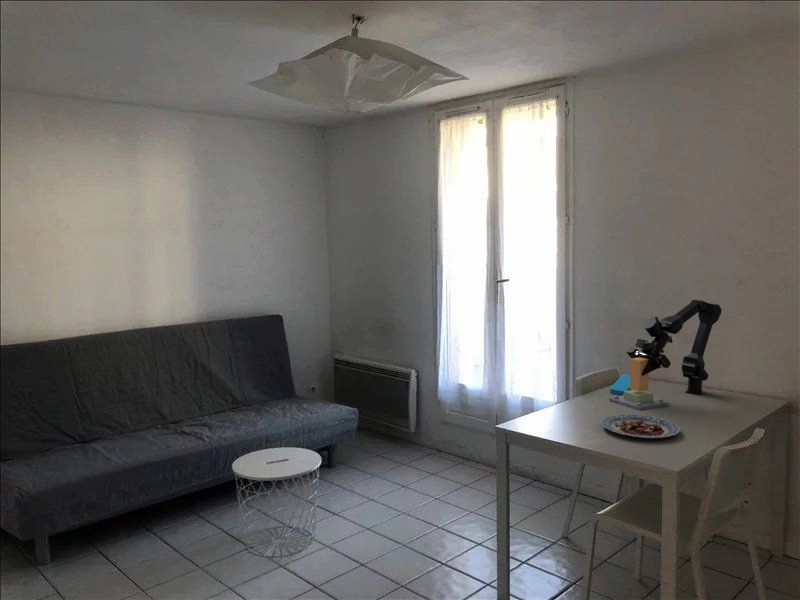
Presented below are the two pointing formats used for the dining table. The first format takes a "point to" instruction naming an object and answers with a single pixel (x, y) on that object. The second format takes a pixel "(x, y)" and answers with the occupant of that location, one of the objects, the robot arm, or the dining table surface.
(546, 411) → the dining table surface
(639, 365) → the orange brick
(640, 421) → the ceramic plate
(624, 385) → the blue long block
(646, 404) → the tower base
